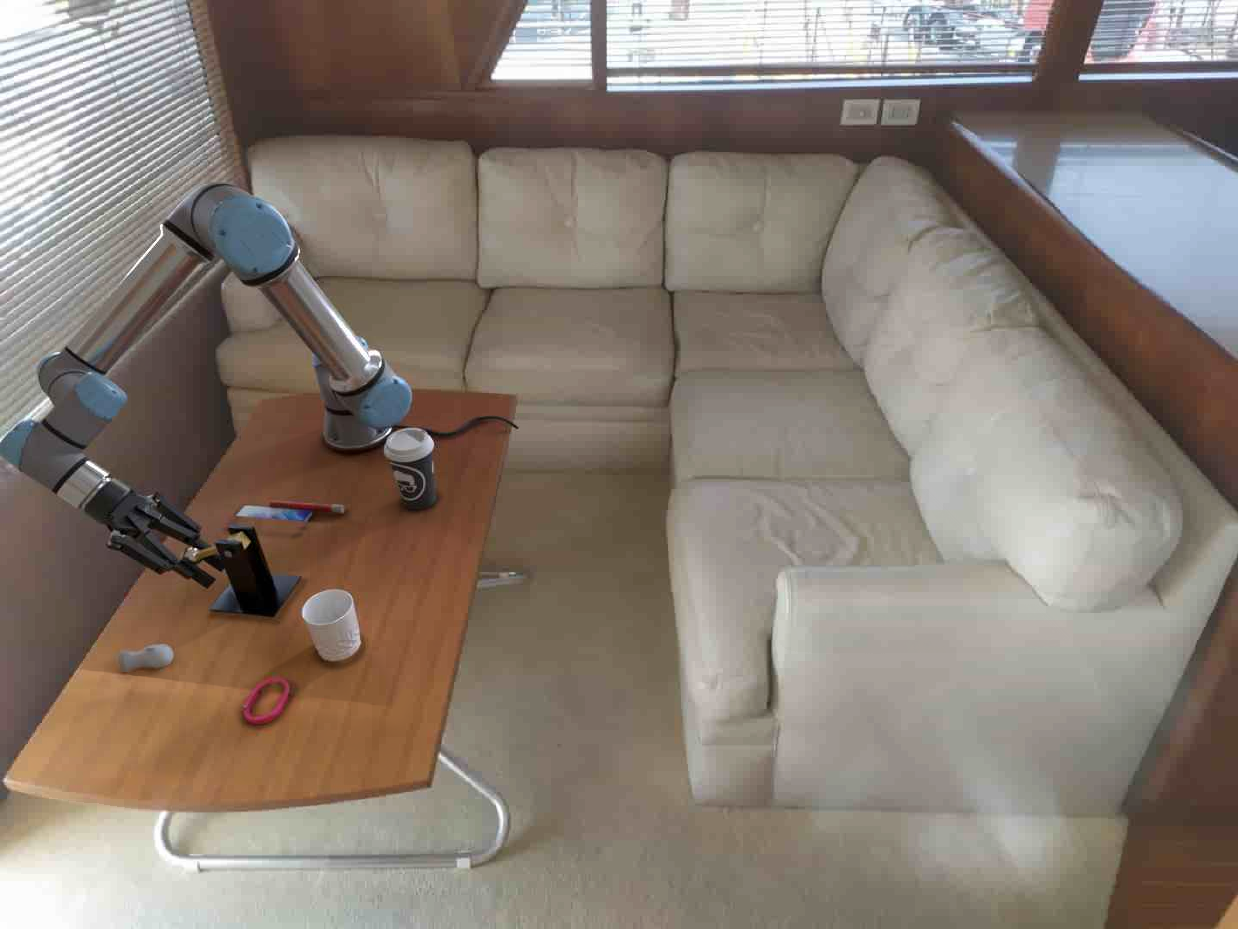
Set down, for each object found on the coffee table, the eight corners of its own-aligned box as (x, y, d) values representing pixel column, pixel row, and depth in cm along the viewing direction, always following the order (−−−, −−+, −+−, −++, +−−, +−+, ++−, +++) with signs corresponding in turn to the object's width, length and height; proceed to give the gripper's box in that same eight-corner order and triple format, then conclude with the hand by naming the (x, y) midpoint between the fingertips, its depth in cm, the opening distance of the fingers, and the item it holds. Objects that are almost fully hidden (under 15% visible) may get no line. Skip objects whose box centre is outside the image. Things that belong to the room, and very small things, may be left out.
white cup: (314, 640, 143) (299, 597, 137) (362, 627, 145) (350, 584, 139) (318, 674, 136) (303, 630, 131) (368, 660, 139) (355, 616, 133)
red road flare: (341, 515, 169) (339, 508, 168) (270, 510, 171) (268, 503, 170) (345, 509, 171) (343, 503, 170) (274, 505, 173) (272, 498, 172)
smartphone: (243, 504, 172) (313, 509, 170) (245, 507, 173) (314, 513, 170) (224, 526, 166) (296, 532, 164) (225, 529, 167) (297, 536, 165)
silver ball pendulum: (185, 574, 148) (171, 559, 146) (196, 560, 151) (183, 545, 149) (244, 555, 142) (230, 539, 141) (255, 541, 145) (242, 525, 144)
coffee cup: (448, 507, 171) (436, 446, 162) (400, 520, 168) (386, 457, 159) (438, 481, 178) (426, 421, 169) (392, 492, 175) (378, 431, 167)
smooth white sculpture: (181, 658, 142) (169, 675, 137) (131, 662, 141) (117, 679, 136) (176, 635, 140) (164, 651, 135) (126, 639, 140) (111, 655, 135)
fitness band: (264, 681, 136) (261, 674, 135) (298, 685, 135) (295, 678, 134) (237, 722, 129) (234, 716, 128) (273, 727, 128) (270, 721, 127)
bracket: (212, 615, 148) (184, 550, 139) (241, 576, 156) (217, 512, 147) (276, 622, 146) (252, 557, 138) (303, 582, 154) (282, 518, 146)
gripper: (120, 475, 151) (233, 554, 158) (55, 536, 137) (182, 619, 145) (136, 453, 147) (252, 534, 154) (71, 513, 134) (201, 599, 141)
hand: (218, 575), depth 149 cm, fingers closed on silver ball pendulum, 4 cm apart
